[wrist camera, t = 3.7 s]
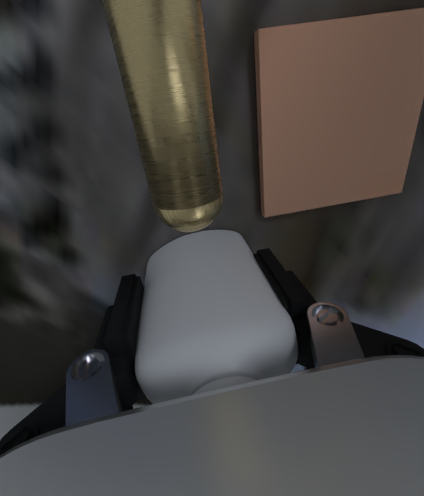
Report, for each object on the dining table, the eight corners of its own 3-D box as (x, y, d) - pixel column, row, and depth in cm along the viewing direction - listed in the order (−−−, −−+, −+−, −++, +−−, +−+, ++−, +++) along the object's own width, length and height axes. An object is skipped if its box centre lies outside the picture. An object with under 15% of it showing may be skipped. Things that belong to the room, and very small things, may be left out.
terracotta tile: (254, 33, 11) (258, 28, 10) (432, 9, 11) (445, 4, 11) (261, 213, 14) (264, 217, 14) (393, 190, 15) (401, 192, 14)
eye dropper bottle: (232, 292, 17) (342, 599, 6) (143, 281, 15) (88, 655, 5) (253, 232, 15) (462, 520, 4) (155, 213, 13) (109, 570, 3)
